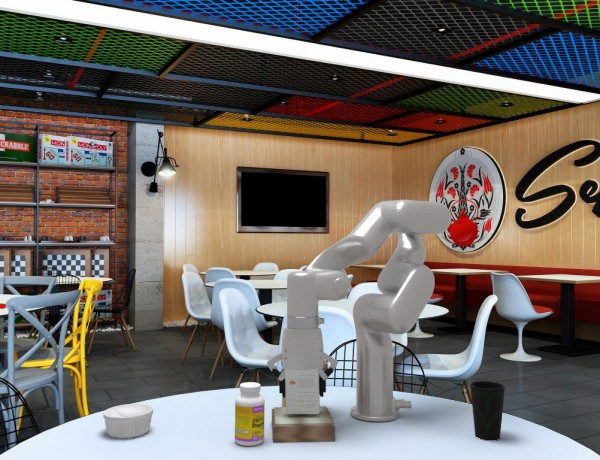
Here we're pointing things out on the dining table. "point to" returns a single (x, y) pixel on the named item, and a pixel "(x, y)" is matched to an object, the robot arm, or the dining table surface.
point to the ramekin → (128, 420)
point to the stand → (302, 426)
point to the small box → (302, 391)
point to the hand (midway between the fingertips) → (302, 395)
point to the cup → (487, 408)
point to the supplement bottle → (249, 415)
